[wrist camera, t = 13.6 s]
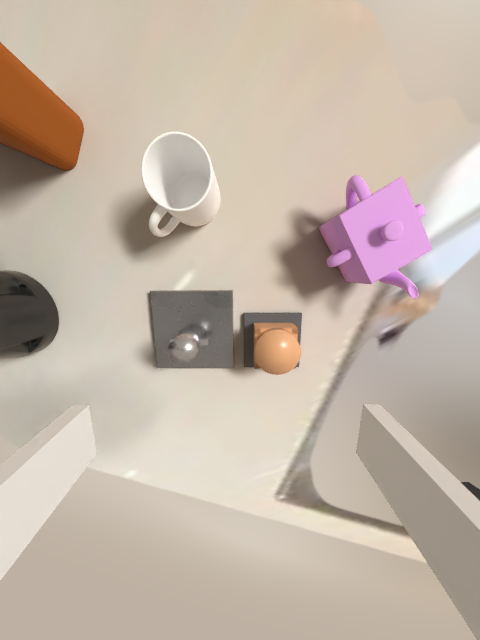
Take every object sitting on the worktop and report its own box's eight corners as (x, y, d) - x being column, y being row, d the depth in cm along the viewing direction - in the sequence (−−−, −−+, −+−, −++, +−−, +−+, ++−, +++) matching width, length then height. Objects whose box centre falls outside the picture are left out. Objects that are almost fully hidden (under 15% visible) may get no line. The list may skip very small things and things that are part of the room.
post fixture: (159, 365, 42) (136, 390, 33) (152, 290, 39) (125, 296, 30) (233, 365, 42) (230, 391, 33) (232, 290, 38) (229, 296, 30)
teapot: (412, 272, 37) (473, 273, 28) (338, 314, 39) (370, 328, 29) (368, 171, 34) (419, 130, 24) (289, 221, 36) (307, 202, 26)
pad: (244, 365, 41) (244, 366, 41) (244, 312, 39) (244, 313, 39) (297, 365, 41) (298, 367, 41) (300, 312, 39) (301, 313, 38)
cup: (231, 195, 35) (226, 165, 25) (187, 256, 37) (167, 251, 28) (189, 158, 34) (167, 113, 24) (147, 223, 36) (111, 206, 26)
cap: (253, 322, 39) (254, 331, 33) (293, 322, 39) (301, 331, 33) (253, 359, 40) (254, 374, 34) (291, 359, 40) (299, 374, 34)
